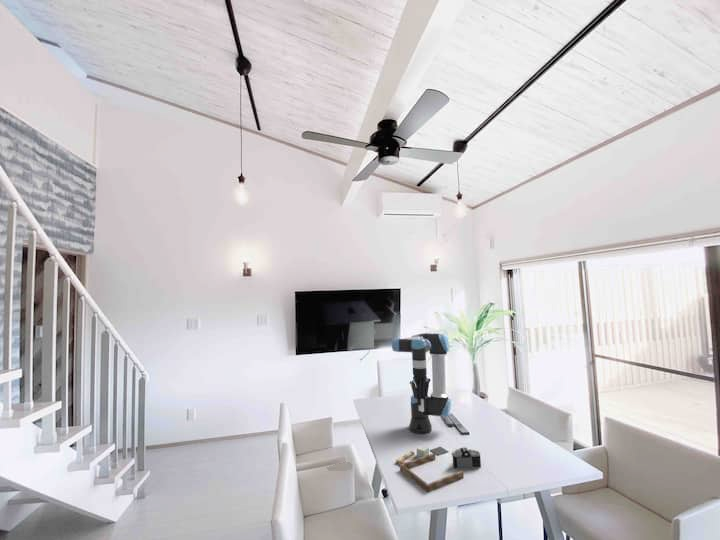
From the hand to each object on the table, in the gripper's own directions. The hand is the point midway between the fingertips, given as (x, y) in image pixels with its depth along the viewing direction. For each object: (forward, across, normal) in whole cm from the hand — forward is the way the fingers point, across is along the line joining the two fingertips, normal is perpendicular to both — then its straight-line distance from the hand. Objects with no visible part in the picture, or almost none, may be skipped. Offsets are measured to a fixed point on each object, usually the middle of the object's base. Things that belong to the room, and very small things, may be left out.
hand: (421, 410), depth 181 cm
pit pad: (+29, -18, -8) cm, 35 cm away
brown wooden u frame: (+29, +2, +8) cm, 31 cm away
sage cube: (+30, -6, -8) cm, 31 cm away
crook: (+30, +3, -9) cm, 31 cm away
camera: (+30, -20, +11) cm, 38 cm away
